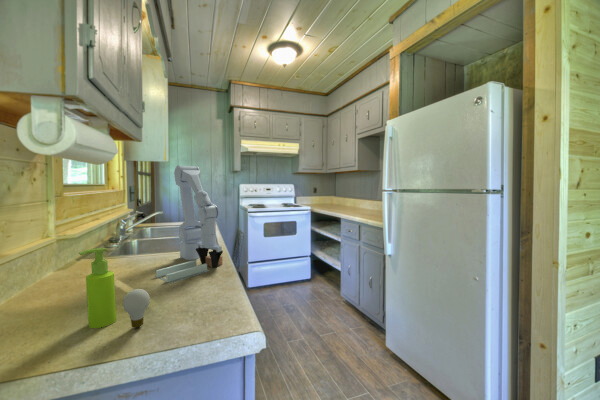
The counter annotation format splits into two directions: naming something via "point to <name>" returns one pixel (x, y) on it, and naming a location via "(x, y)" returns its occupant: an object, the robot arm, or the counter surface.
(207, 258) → the cube
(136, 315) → the light bulb
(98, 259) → the soap dispenser
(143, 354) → the counter surface
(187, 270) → the channel
